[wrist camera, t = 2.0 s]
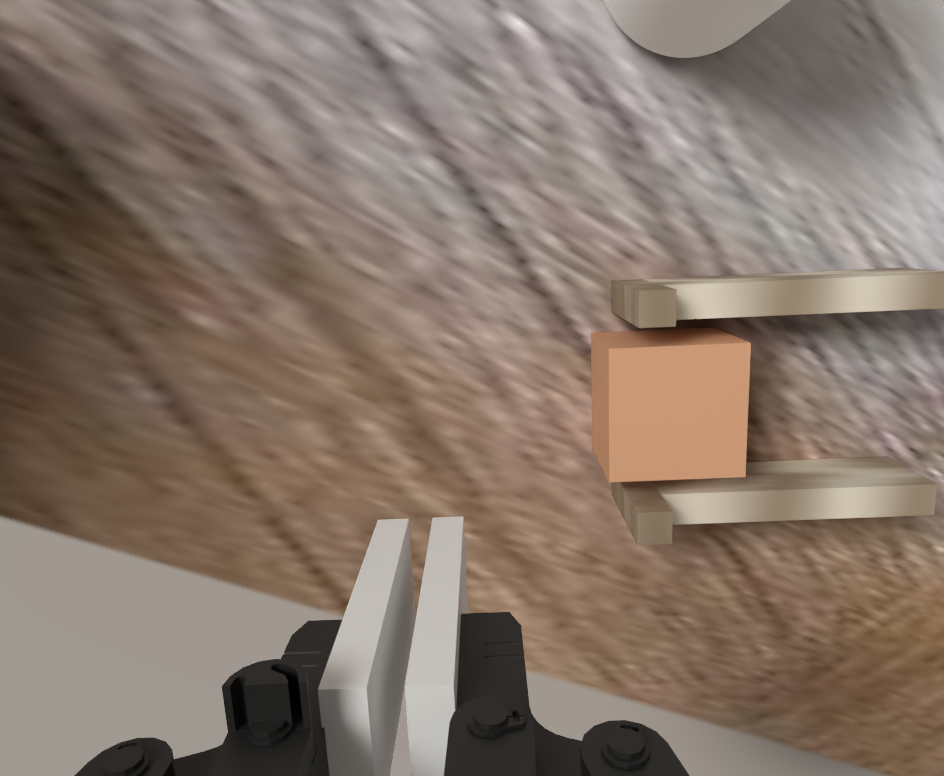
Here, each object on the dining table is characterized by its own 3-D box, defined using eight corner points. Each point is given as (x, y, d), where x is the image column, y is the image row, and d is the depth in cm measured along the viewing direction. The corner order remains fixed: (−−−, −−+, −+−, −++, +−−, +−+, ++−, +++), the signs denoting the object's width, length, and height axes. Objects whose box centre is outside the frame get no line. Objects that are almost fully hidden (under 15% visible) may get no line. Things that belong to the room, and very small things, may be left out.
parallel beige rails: (612, 494, 36) (637, 545, 30) (611, 280, 34) (638, 290, 28) (885, 484, 36) (963, 533, 30) (903, 267, 34) (993, 275, 28)
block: (591, 448, 36) (609, 482, 31) (590, 332, 35) (608, 348, 30) (709, 443, 36) (745, 477, 31) (712, 327, 35) (750, 342, 30)
